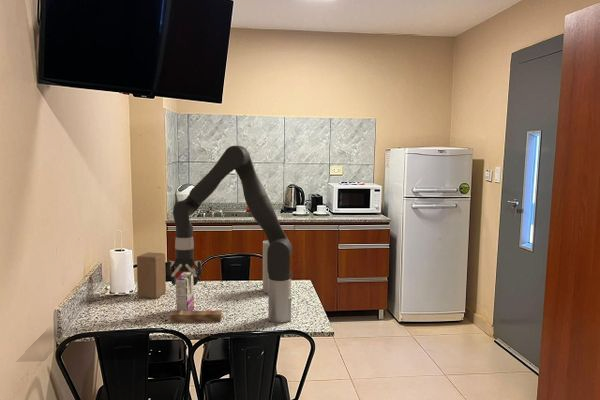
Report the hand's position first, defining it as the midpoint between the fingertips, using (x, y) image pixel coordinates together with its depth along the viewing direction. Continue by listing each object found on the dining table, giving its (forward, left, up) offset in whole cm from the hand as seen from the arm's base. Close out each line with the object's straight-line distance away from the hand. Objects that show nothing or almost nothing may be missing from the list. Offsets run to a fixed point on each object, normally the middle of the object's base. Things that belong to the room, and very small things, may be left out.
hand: (184, 285), depth 198 cm
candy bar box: (0, 0, -12) cm, 12 cm away
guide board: (-6, +9, -12) cm, 16 cm away
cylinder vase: (-39, -30, -12) cm, 51 cm away
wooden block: (+20, -25, -12) cm, 35 cm away
